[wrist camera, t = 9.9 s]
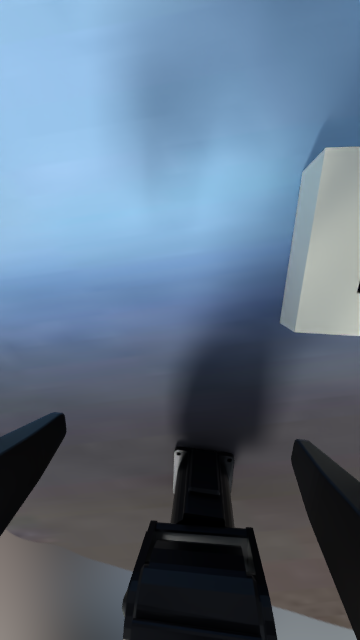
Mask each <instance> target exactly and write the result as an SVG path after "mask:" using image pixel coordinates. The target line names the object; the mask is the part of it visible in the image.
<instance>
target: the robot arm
mask: <svg viewBox="0 0 360 640" xmlns="http://www.w3.org/2000/svg"><path fill="white" fill-rule="evenodd" d="M65 435H66V422H65V415H64V414H63V413H58V412H53V413H50V414H48V415H46V416H44V417H42V418H40V419H38V420H36V421H33V422H31V423H29V424H27V425H25V426H23V427H21V428H19V429H17V430H14V431H12V432H10V433H8V434H6V435H4V436H2V437H0V536H1V534H2V533H3V532H4V530H5V529H6V527H7V526H8V524H9V523H10V521H11V520H12V519H13V517H14V516H15V514H16V513H17V511H18V510H19V508H20V507H21V506H22V504H23V503H24V501H25V500H26V498H27V497H28V495H29V494H30V492H31V491H32V490H33V488H34V487H35V485H36V484H37V482H38V481H39V479H40V478H41V476H42V474H43V473H44V471H45V470H46V468H47V466H48V464H49V463H50V461H51V459H52V458H53V456H54V454H55V452H56V451H57V449H58V447H59V445H60V444H61V442H62V440H63V439H64V437H65ZM179 452H180V453H179ZM228 458H230V459H228ZM291 462H292V466H293V469H294V473H295V476H296V479H297V482H298V486H299V489H300V492H301V495H302V499H303V502H304V505H305V508H306V511H307V514H308V517H309V520H310V523H311V525H312V528H313V531H314V533H315V536H316V538H317V541H318V543H319V546H320V548H321V551H322V553H323V556H324V558H325V561H326V563H327V565H328V568H329V570H330V573H331V575H332V578H333V580H334V583H335V585H336V588H337V590H338V593H339V595H340V598H341V600H342V603H343V605H344V608H345V610H346V613H347V615H348V618H349V620H350V623H351V625H352V628H353V630H354V633H355V635H356V638H357V640H360V482H359V481H358V480H357V479H355V478H354V477H353V476H352V475H350V474H349V473H348V472H347V471H345V470H344V469H343V468H342V467H340V466H339V465H338V464H337V463H335V462H334V461H333V460H332V459H331V458H329V457H328V456H327V455H326V454H324V453H323V452H322V451H321V450H319V449H318V448H317V447H316V446H314V445H313V444H312V443H311V442H309V441H307V440H300V439H296V440H295V442H294V446H293V451H292V456H291ZM233 468H234V456H233V455H232V454H231V453H224V452H216V451H208V450H200V449H192V448H183V447H176V448H175V451H174V478H173V493H174V501H173V509H172V516H171V523H160V522H157V521H152V520H151V522H150V525H149V528H148V531H146V534H145V537H144V540H143V543H142V546H141V549H140V552H139V555H138V558H137V561H136V565H135V568H134V571H133V574H132V577H131V580H130V583H129V586H128V590H127V592H126V594H125V596H124V599H123V604H122V605H123V606H122V611H123V614H124V617H125V621H124V633H123V640H277V635H276V629H275V623H274V617H273V612H272V607H271V602H270V597H269V592H268V588H267V584H266V580H265V576H264V572H263V568H262V563H261V559H260V555H259V551H258V547H257V543H256V539H255V535H254V531H253V528H251V527H246V529H243V528H234V520H233V511H232V503H231V495H230V494H231V485H232V476H233Z"/></svg>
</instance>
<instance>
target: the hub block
mask: <svg viewBox="0 0 360 640" xmlns="http://www.w3.org/2000/svg"><path fill="white" fill-rule="evenodd" d="M359 281H360V147H330V148H325V149H324V150H323V151H322V152H321V153H320V154H319V155H318V156H317V157H316V158H315V159H314V160H313V161H312V162H311V163H310V164H309V165H308V166H307V167H306V168H305V170H304V171H303V172H302V178H301V184H300V191H299V198H298V204H297V211H296V218H295V224H294V231H293V238H292V244H291V251H290V258H289V264H288V271H287V278H286V284H285V291H284V298H283V304H282V311H281V318H280V323H281V324H282V325H284V326H285V327H287V328H289V329H290V330H292V331H293V332H299V333H316V334H333V335H350V336H360V291H357V290H358V286H359Z"/></svg>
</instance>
